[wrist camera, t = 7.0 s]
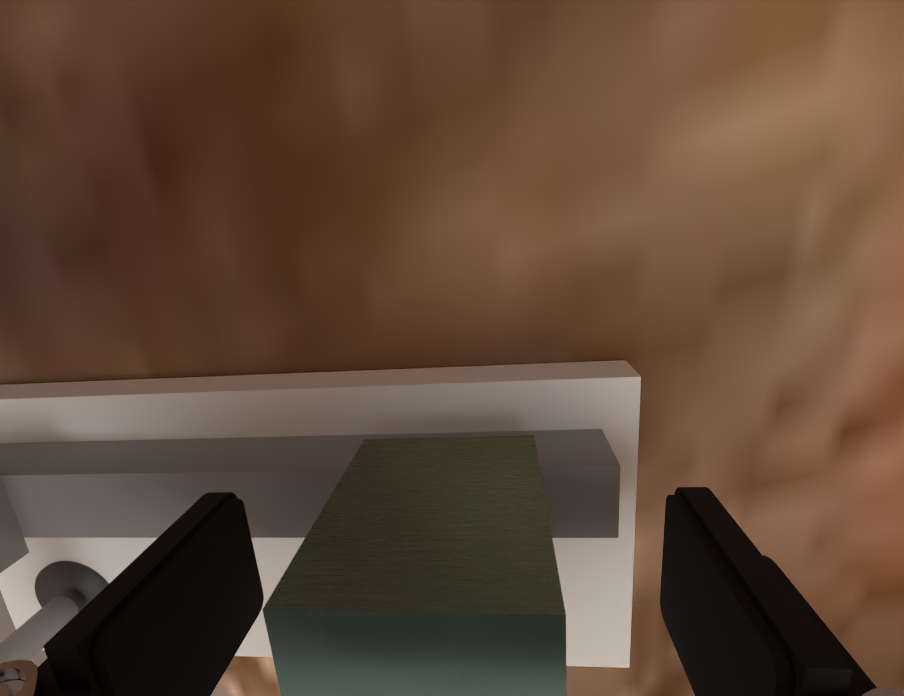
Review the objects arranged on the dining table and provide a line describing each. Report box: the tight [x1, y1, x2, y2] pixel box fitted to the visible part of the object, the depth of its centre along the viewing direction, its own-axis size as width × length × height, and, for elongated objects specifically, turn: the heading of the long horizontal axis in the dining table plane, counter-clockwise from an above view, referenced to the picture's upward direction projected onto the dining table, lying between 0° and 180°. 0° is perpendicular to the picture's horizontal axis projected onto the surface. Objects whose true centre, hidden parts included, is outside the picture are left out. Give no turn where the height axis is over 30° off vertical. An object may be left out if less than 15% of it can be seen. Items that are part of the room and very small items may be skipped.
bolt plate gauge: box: [0, 360, 641, 668], centre depth 13 cm, size 10×22×8 cm, turn 94°
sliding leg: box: [262, 435, 566, 696], centre depth 10 cm, size 8×4×7 cm, turn 4°
